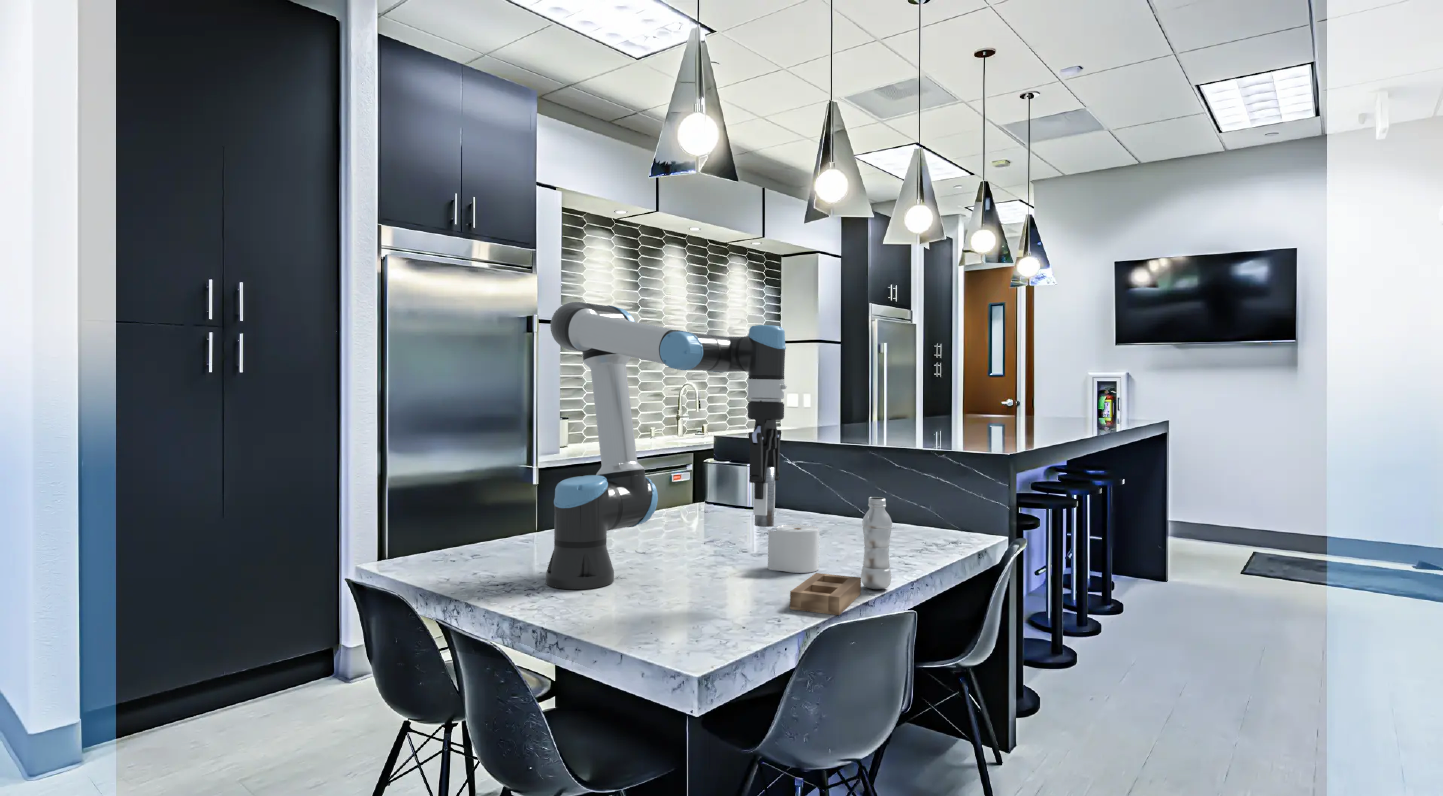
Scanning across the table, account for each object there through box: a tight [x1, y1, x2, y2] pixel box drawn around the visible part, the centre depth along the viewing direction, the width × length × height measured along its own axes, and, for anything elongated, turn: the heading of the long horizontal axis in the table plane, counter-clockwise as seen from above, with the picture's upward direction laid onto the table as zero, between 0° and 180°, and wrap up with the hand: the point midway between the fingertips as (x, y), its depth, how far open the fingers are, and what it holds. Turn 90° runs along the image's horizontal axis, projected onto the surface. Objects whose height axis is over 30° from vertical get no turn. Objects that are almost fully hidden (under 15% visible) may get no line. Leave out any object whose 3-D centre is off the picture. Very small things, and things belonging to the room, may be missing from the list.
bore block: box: [789, 572, 862, 616], centre depth 161 cm, size 10×18×4 cm, turn 157°
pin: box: [754, 466, 776, 528], centre depth 161 cm, size 4×4×12 cm
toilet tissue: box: [767, 523, 820, 574], centre depth 191 cm, size 11×12×10 cm
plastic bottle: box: [860, 496, 893, 590], centre depth 172 cm, size 6×7×20 cm
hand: (764, 513), depth 161 cm, fingers closed on pin, 4 cm apart
